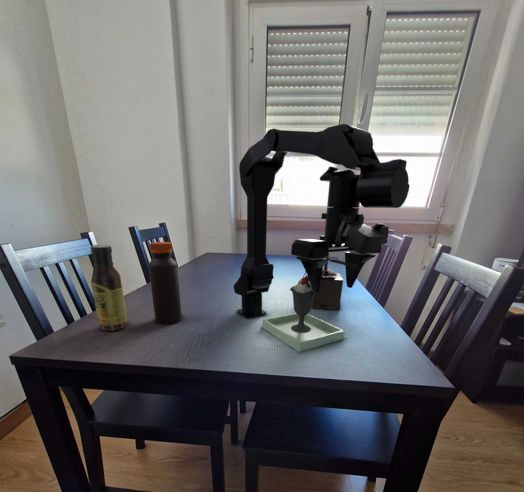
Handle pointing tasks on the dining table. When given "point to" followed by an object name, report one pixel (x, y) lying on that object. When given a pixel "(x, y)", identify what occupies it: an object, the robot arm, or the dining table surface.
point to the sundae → (302, 302)
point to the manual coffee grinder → (329, 288)
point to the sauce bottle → (107, 290)
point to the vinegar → (164, 284)
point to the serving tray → (303, 341)
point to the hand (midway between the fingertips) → (333, 290)
